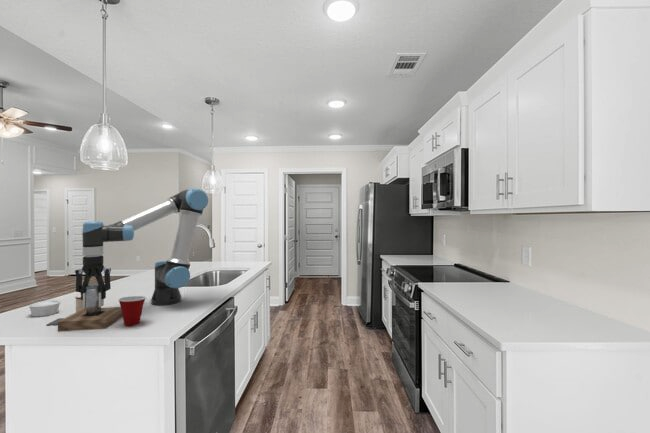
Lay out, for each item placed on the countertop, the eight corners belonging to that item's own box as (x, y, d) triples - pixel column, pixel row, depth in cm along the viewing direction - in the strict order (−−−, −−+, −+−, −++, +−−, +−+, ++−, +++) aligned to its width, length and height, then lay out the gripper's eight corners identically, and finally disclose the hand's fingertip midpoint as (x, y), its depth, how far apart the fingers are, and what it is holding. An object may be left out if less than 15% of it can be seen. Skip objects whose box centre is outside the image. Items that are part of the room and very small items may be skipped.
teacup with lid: (85, 316, 148) (85, 292, 148) (70, 315, 149) (70, 291, 149) (107, 309, 159) (107, 286, 159) (93, 307, 161) (93, 285, 161)
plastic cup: (151, 320, 143) (151, 294, 143) (135, 328, 132) (135, 300, 132) (129, 319, 144) (129, 293, 144) (112, 327, 133) (111, 300, 133)
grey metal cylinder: (103, 315, 143) (103, 283, 143) (97, 319, 137) (97, 286, 137) (90, 316, 142) (89, 284, 141) (83, 320, 136) (82, 287, 136)
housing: (124, 314, 150) (124, 306, 150) (105, 328, 133) (105, 319, 133) (82, 317, 147) (82, 308, 147) (57, 331, 129) (57, 321, 129)
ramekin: (65, 311, 155) (65, 301, 155) (40, 318, 145) (40, 307, 145) (49, 309, 158) (49, 299, 158) (23, 316, 148) (23, 305, 148)
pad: (77, 318, 145) (77, 317, 145) (67, 324, 137) (67, 323, 137) (58, 319, 143) (58, 318, 143) (46, 325, 135) (46, 324, 135)
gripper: (119, 254, 145) (120, 303, 145) (74, 255, 141) (75, 305, 141) (112, 256, 137) (112, 307, 137) (64, 257, 134) (64, 310, 134)
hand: (93, 306), depth 139 cm, fingers closed on grey metal cylinder, 6 cm apart
